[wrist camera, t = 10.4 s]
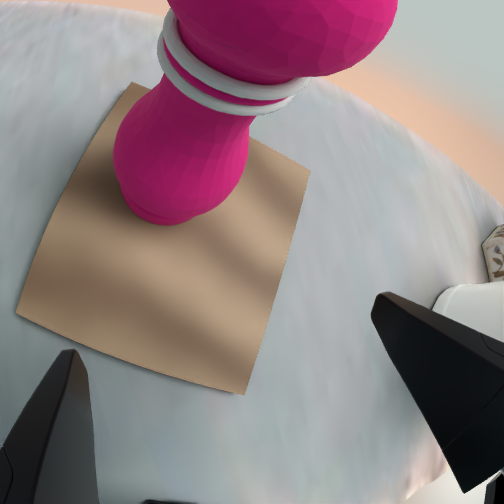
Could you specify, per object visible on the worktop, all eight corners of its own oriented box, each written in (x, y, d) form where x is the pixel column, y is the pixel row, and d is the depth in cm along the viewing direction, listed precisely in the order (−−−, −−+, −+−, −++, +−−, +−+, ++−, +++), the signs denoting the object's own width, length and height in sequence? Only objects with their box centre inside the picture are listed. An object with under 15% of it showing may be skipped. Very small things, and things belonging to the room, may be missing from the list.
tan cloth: (237, 390, 21) (244, 395, 20) (20, 312, 16) (15, 312, 15) (302, 175, 26) (310, 170, 25) (130, 90, 21) (131, 81, 20)
